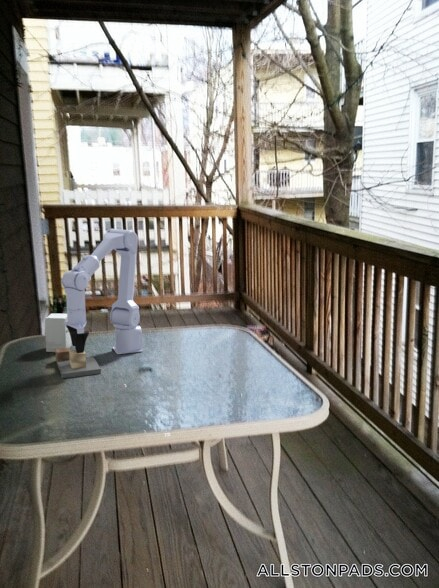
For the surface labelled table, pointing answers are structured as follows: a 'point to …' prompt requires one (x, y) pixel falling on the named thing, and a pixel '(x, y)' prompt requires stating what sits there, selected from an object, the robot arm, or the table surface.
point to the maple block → (77, 359)
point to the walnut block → (62, 354)
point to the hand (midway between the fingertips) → (78, 349)
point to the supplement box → (56, 332)
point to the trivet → (68, 371)
